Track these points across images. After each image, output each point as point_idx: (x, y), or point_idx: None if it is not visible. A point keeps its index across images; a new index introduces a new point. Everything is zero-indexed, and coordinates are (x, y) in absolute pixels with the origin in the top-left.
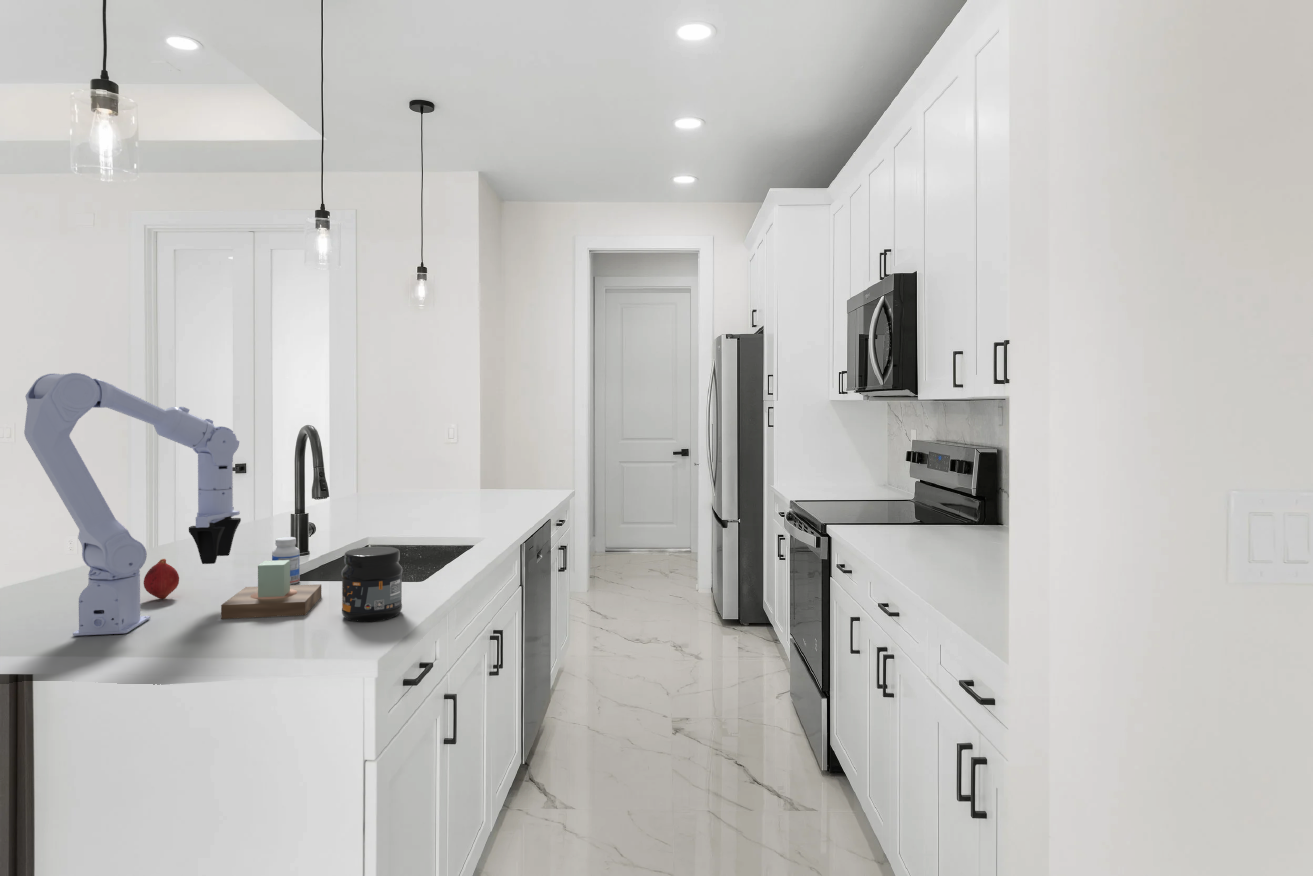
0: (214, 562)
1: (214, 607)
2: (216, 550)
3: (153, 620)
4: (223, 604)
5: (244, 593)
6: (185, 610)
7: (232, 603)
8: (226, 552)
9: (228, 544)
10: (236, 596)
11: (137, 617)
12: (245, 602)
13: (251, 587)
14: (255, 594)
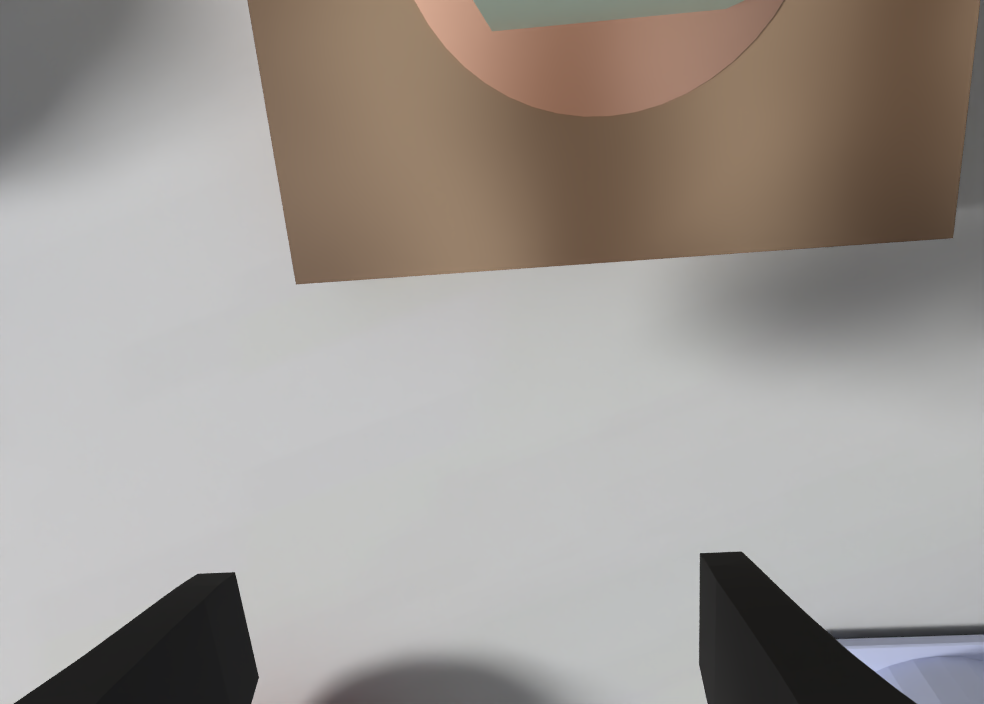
0: (745, 557)
1: (542, 391)
2: (831, 641)
3: (822, 612)
4: (939, 225)
5: (546, 200)
6: (601, 534)
7: (919, 162)
8: (222, 614)
9: (160, 673)
10: (652, 227)
11: (967, 680)
12: (911, 54)
13: (316, 225)
14: (607, 78)
